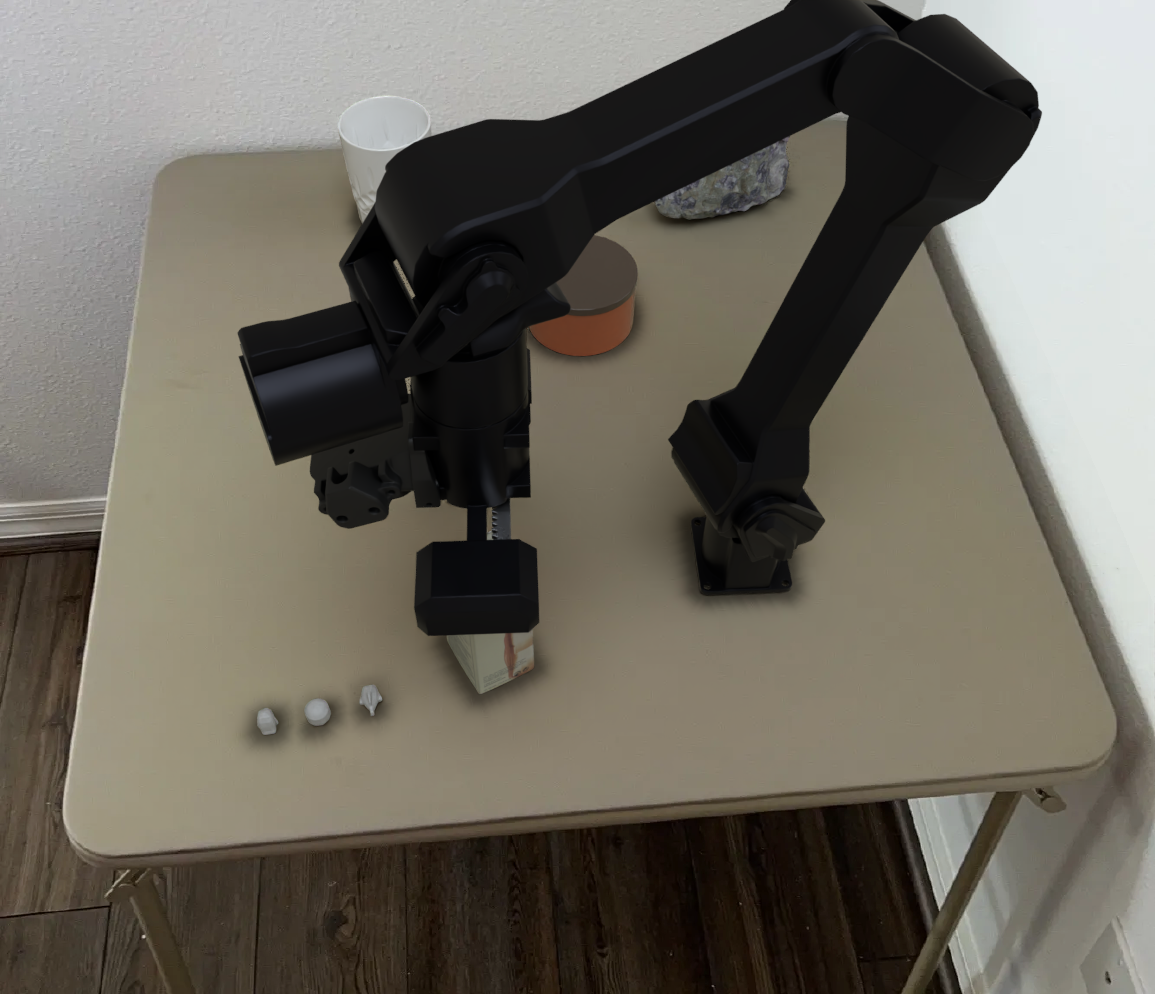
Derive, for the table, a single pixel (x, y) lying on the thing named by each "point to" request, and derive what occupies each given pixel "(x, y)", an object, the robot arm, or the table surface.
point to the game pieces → (318, 710)
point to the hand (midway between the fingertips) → (485, 562)
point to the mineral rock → (731, 186)
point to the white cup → (377, 140)
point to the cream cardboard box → (493, 656)
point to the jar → (594, 302)
